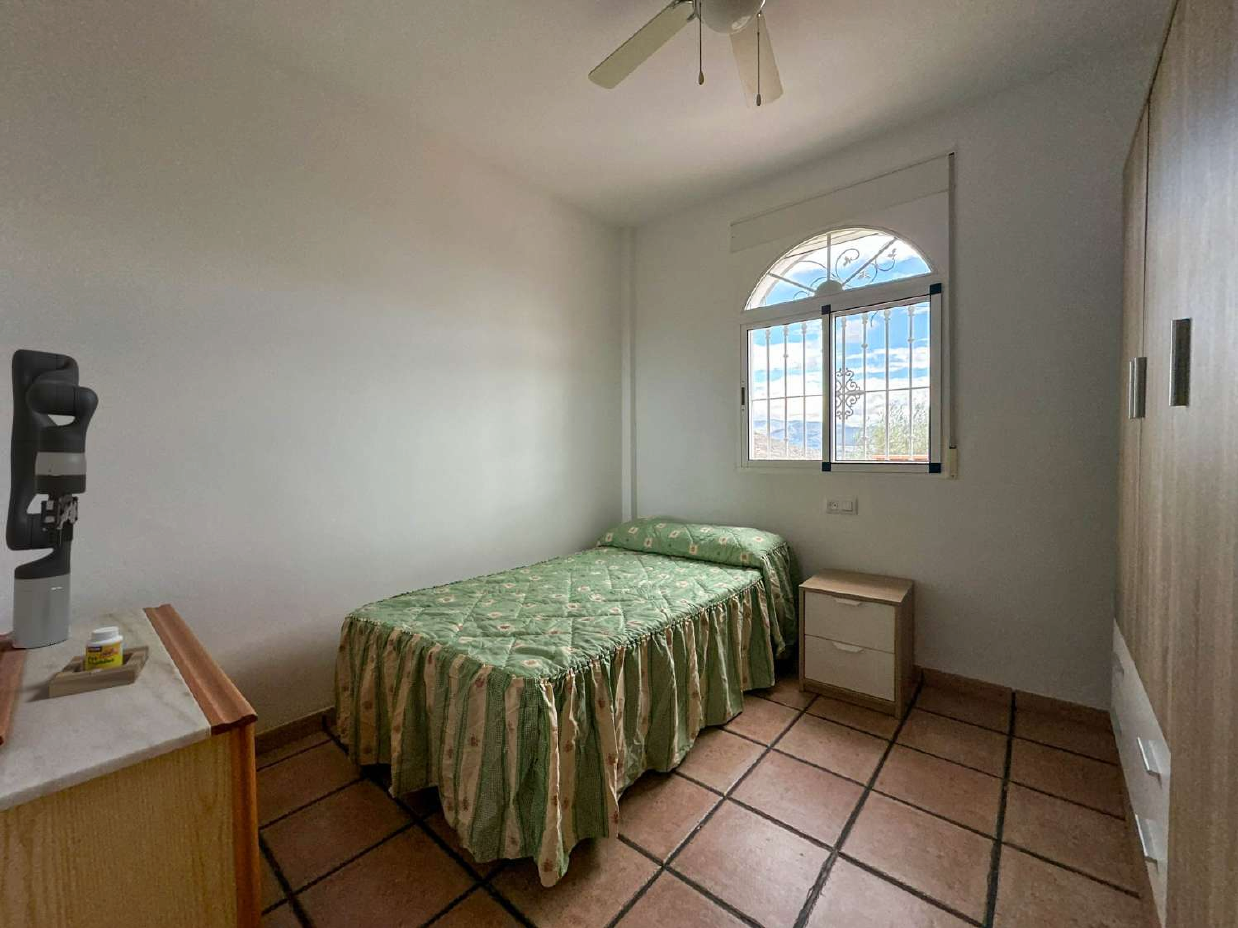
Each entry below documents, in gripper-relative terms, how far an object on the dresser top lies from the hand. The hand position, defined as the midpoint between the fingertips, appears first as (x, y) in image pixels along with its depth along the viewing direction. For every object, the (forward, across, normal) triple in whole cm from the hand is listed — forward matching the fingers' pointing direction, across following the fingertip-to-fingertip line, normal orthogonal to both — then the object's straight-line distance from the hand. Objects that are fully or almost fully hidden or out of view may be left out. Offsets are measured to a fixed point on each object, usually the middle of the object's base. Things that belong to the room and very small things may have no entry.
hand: (59, 544), depth 107 cm
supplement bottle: (+28, +11, +10) cm, 32 cm away
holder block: (+28, +11, +10) cm, 32 cm away
